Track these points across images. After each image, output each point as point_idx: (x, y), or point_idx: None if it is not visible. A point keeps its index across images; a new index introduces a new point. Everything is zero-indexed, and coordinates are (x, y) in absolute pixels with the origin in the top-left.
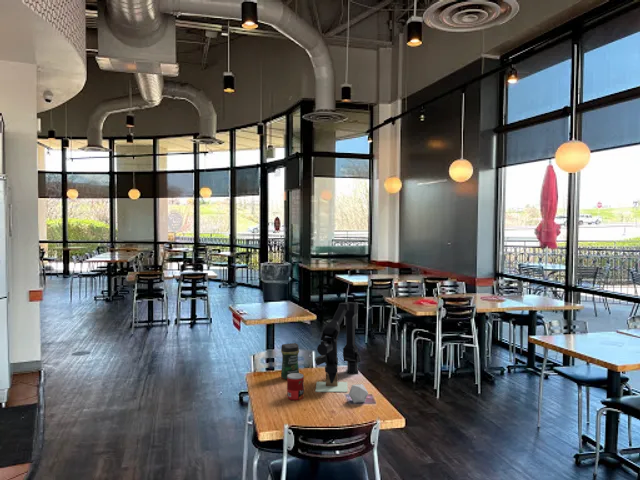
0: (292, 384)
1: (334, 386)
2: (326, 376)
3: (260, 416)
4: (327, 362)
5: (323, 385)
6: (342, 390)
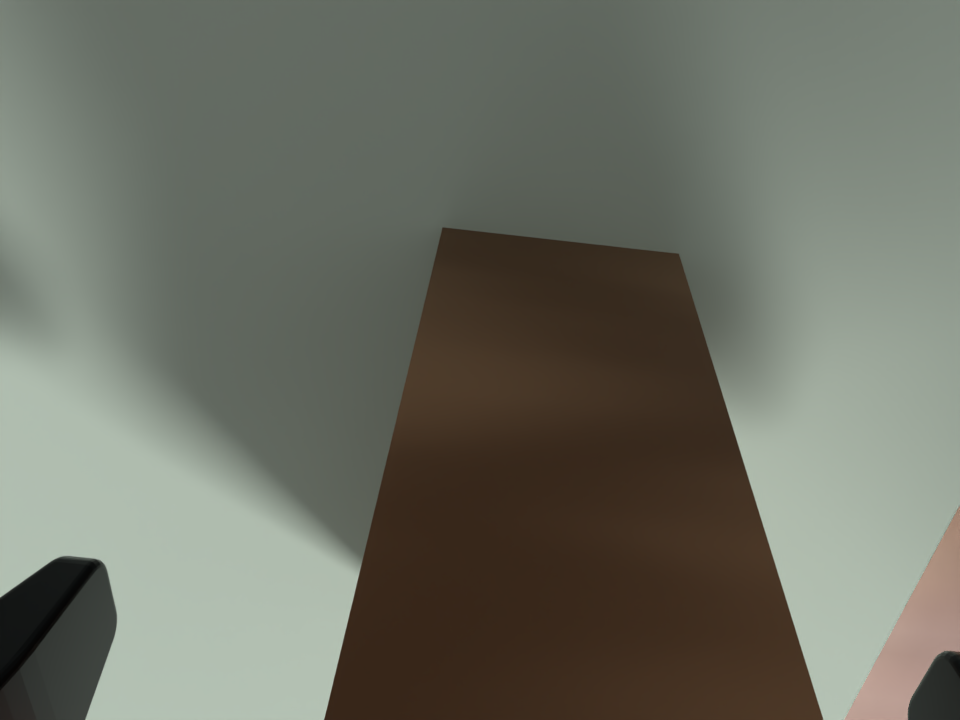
0: None
1: None
2: (347, 649)
3: None
4: None
5: (555, 120)
6: None
